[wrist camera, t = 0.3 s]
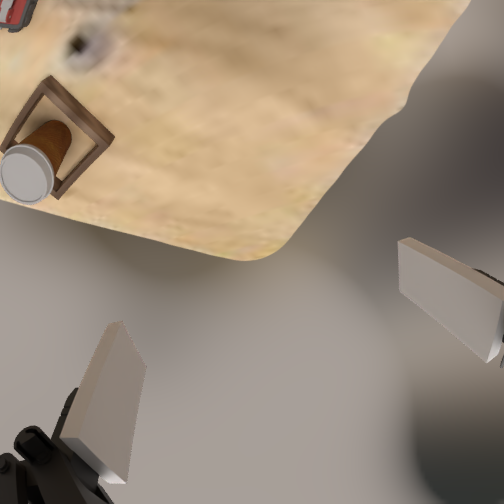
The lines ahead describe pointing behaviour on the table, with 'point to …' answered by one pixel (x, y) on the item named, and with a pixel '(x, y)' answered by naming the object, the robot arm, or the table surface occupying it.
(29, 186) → the disposable coffee cup
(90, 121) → the walnut cup stand
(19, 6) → the walkie-talkie
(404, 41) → the table surface
